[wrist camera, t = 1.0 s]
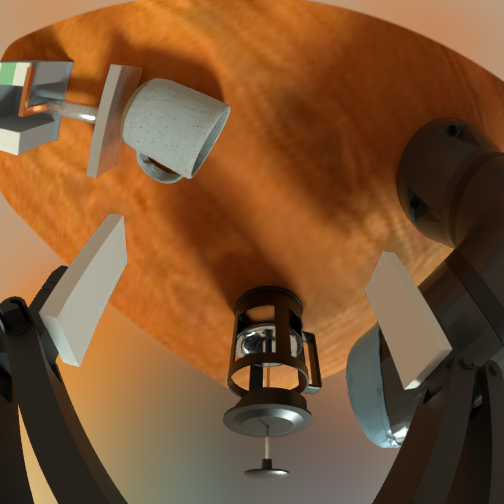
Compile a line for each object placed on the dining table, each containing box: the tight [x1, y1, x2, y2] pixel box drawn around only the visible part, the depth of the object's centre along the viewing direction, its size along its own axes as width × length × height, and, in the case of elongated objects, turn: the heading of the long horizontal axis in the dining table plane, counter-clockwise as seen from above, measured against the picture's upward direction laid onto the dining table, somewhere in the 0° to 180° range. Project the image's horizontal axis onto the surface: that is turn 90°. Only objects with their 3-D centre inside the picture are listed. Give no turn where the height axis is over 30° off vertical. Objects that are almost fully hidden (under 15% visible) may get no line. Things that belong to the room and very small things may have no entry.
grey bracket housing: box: [0, 60, 74, 155], centre depth 21 cm, size 10×10×7 cm
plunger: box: [18, 64, 143, 178], centre depth 21 cm, size 12×11×7 cm
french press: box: [223, 286, 322, 480], centre depth 29 cm, size 12×9×23 cm
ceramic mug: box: [120, 78, 230, 184], centre depth 24 cm, size 11×8×8 cm
